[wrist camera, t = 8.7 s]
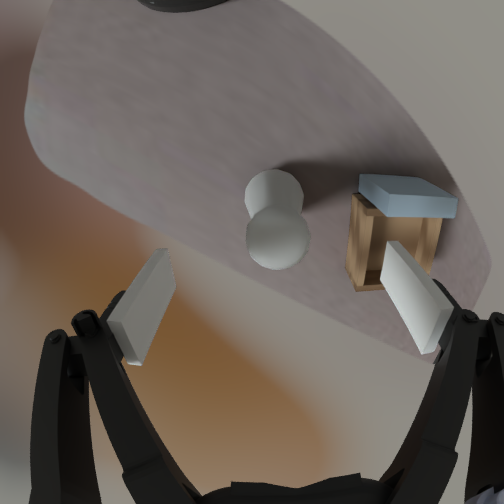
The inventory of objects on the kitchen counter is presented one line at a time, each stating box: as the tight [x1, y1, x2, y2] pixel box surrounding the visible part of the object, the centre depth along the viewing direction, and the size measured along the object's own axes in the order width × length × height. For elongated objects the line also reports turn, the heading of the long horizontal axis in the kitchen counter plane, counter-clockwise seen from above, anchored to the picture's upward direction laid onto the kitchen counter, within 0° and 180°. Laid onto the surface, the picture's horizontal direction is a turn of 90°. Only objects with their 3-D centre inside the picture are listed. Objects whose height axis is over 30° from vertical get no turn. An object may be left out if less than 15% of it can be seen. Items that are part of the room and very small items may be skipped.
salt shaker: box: [245, 169, 311, 270], centre depth 23 cm, size 6×6×13 cm
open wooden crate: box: [345, 194, 442, 292], centre depth 28 cm, size 10×10×5 cm
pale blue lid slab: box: [359, 174, 458, 218], centre depth 24 cm, size 2×8×8 cm, turn 94°
